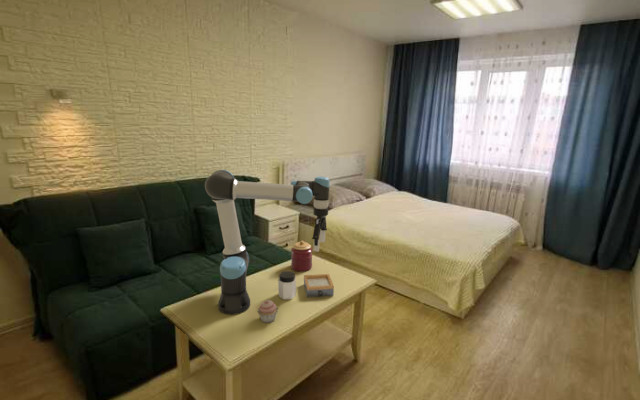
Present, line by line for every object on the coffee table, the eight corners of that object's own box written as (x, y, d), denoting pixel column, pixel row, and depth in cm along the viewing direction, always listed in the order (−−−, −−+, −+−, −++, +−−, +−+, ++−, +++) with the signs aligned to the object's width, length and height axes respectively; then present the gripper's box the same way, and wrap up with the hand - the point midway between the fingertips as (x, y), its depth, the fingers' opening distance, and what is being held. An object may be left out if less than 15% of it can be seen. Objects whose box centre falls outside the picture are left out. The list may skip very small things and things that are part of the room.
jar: (298, 296, 171) (298, 275, 168) (285, 301, 166) (285, 279, 163) (288, 289, 178) (288, 269, 175) (275, 294, 173) (275, 273, 170)
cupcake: (253, 319, 151) (252, 299, 149) (269, 311, 158) (269, 292, 155) (266, 328, 145) (266, 307, 143) (282, 319, 152) (282, 299, 149)
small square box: (307, 298, 170) (307, 288, 169) (303, 284, 184) (304, 275, 183) (333, 296, 172) (334, 286, 171) (328, 283, 186) (328, 274, 185)
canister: (303, 261, 214) (303, 235, 210) (316, 268, 205) (316, 241, 201) (286, 266, 206) (287, 239, 202) (299, 274, 197) (299, 246, 192)
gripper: (322, 214, 156) (320, 256, 161) (333, 202, 180) (331, 239, 185) (307, 212, 158) (305, 254, 163) (319, 201, 181) (318, 237, 186)
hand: (319, 246), depth 174 cm, fingers open, 13 cm apart
